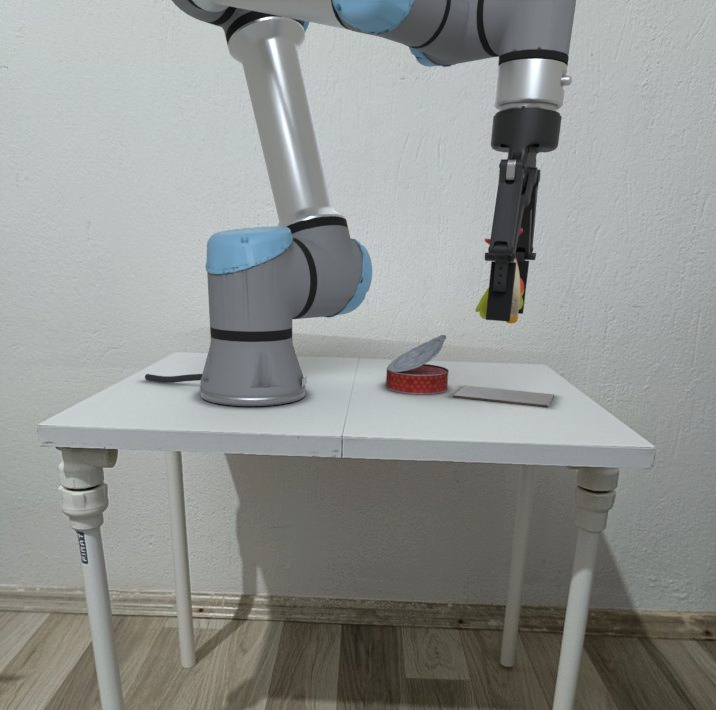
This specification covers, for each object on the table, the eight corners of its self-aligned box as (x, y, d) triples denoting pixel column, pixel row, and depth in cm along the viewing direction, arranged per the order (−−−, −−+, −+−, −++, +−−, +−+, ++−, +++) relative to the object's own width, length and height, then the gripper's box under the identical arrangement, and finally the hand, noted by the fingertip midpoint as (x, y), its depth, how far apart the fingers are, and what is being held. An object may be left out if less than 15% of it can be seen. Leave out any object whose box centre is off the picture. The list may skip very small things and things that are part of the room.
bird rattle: (533, 341, 81) (517, 303, 87) (557, 254, 73) (537, 220, 80) (483, 340, 80) (470, 302, 87) (502, 253, 73) (486, 219, 79)
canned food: (433, 423, 103) (430, 372, 96) (376, 407, 108) (370, 357, 100) (462, 379, 110) (461, 329, 102) (408, 366, 114) (403, 317, 107)
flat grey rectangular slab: (453, 397, 100) (453, 395, 100) (464, 387, 107) (465, 385, 107) (547, 407, 96) (548, 405, 95) (553, 396, 103) (554, 394, 102)
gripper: (550, 89, 63) (522, 328, 71) (571, 126, 82) (547, 310, 90) (473, 92, 66) (453, 323, 74) (510, 127, 85) (492, 306, 93)
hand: (505, 316), depth 82 cm, fingers closed on bird rattle, 9 cm apart
